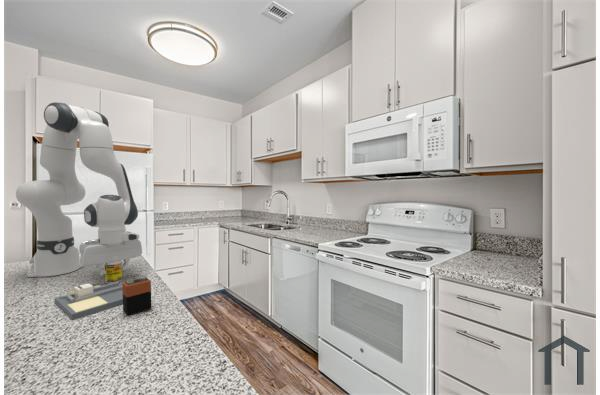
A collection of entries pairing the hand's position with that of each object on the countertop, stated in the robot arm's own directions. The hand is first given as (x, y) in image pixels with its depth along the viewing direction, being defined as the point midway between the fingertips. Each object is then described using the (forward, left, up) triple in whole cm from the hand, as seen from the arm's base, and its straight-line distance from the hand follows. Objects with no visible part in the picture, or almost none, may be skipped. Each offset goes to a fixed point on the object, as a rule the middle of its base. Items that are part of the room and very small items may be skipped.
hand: (113, 272), depth 110 cm
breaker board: (+15, -10, -4) cm, 18 cm away
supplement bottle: (0, 0, -4) cm, 4 cm away
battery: (+32, -5, -4) cm, 33 cm away
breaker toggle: (+12, -13, -2) cm, 18 cm away
